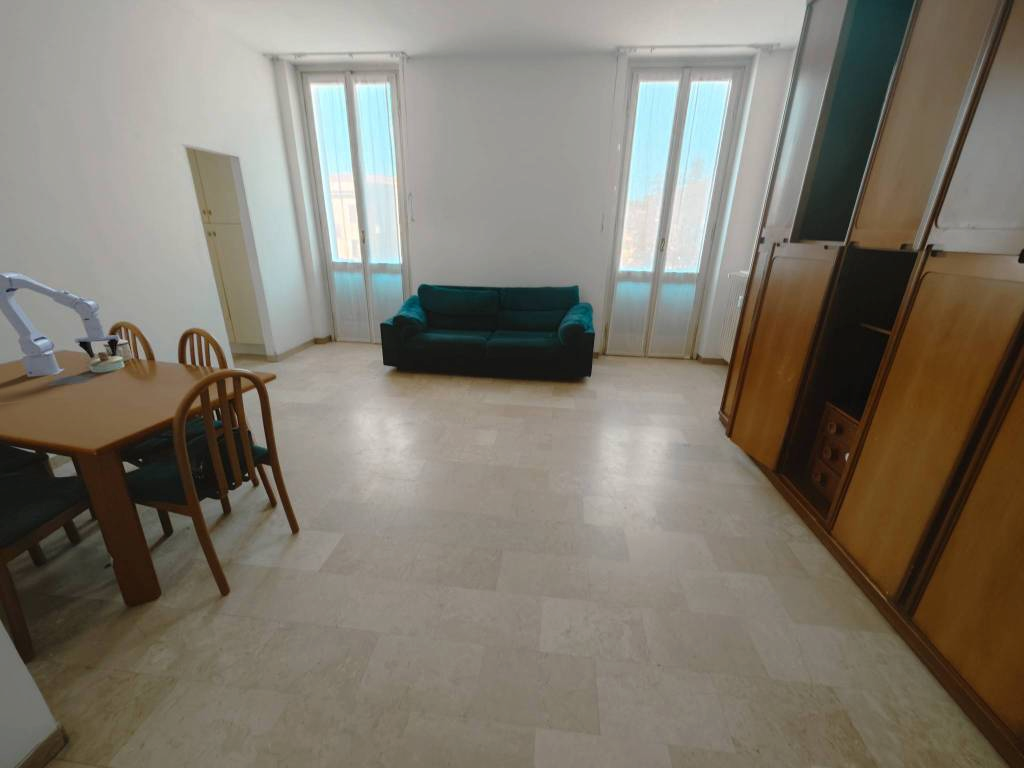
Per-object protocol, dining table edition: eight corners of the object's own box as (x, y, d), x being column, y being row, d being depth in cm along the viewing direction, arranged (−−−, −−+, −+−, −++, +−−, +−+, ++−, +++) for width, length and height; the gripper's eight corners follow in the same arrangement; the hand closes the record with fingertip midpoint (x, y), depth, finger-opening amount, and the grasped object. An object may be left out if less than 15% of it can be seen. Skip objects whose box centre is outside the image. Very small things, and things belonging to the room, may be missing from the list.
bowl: (88, 374, 180) (84, 366, 178) (97, 367, 189) (94, 359, 187) (120, 371, 185) (117, 363, 183) (127, 364, 194) (125, 356, 192)
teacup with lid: (107, 359, 200) (99, 337, 195) (131, 356, 206) (124, 334, 202) (112, 365, 193) (104, 341, 189) (137, 360, 199) (129, 338, 195)
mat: (46, 387, 165) (46, 386, 165) (60, 378, 175) (59, 377, 175) (86, 383, 170) (85, 382, 170) (97, 374, 180) (96, 373, 180)
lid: (81, 367, 177) (77, 357, 176) (94, 359, 188) (91, 350, 186) (116, 364, 182) (113, 355, 180) (127, 356, 192) (124, 348, 191)
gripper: (67, 330, 173) (78, 360, 178) (111, 328, 180) (121, 356, 184) (74, 327, 179) (85, 356, 184) (117, 324, 185) (126, 352, 190)
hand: (104, 356), depth 184 cm, fingers open, 7 cm apart
